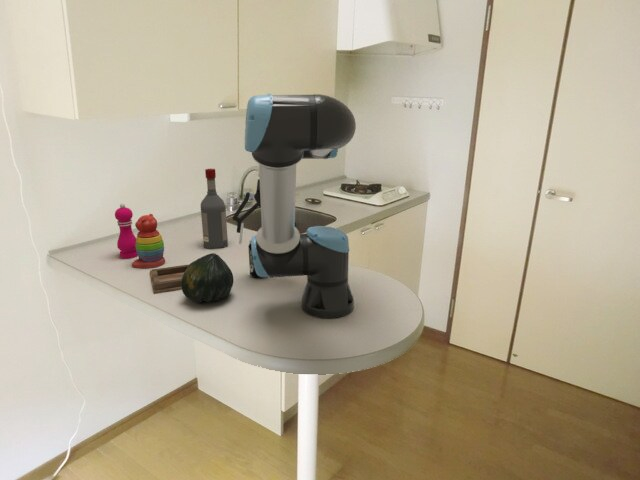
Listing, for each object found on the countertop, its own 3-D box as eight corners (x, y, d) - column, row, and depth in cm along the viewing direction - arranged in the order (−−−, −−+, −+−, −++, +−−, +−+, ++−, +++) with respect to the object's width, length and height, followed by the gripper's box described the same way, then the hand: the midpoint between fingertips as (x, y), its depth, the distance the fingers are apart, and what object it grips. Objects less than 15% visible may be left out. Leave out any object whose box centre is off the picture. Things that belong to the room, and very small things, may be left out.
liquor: (226, 240, 197) (221, 166, 187) (228, 247, 189) (223, 171, 179) (203, 242, 195) (197, 167, 185) (204, 249, 187) (198, 172, 177)
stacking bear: (148, 256, 180) (142, 210, 174) (172, 259, 177) (167, 212, 171) (129, 267, 170) (122, 218, 164) (154, 270, 167) (148, 220, 161)
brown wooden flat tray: (206, 285, 155) (206, 277, 154) (154, 293, 149) (153, 285, 148) (197, 266, 171) (197, 258, 170) (150, 272, 165) (149, 265, 164)
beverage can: (266, 279, 160) (264, 245, 156) (247, 278, 161) (245, 243, 157) (272, 272, 166) (270, 238, 162) (253, 270, 167) (252, 237, 163)
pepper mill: (122, 260, 176) (115, 207, 169) (116, 255, 181) (108, 203, 175) (142, 256, 180) (135, 203, 174) (135, 251, 185) (128, 200, 179)
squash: (167, 279, 146) (184, 251, 137) (209, 267, 157) (227, 241, 147) (189, 319, 142) (207, 293, 133) (230, 304, 153) (250, 279, 143)
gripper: (307, 184, 159) (299, 248, 161) (230, 174, 155) (223, 239, 157) (310, 185, 151) (301, 252, 153) (229, 173, 148) (221, 242, 150)
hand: (261, 246), depth 155 cm, fingers open, 13 cm apart
